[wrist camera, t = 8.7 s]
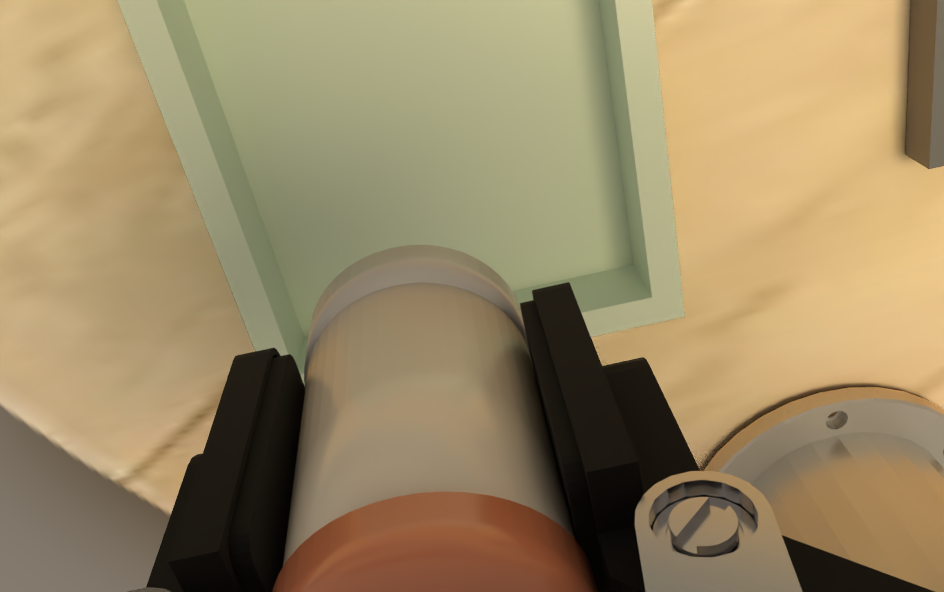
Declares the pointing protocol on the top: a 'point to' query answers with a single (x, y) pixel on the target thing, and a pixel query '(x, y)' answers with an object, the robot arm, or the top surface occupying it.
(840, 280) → the top surface
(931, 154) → the fuse block
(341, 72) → the tray
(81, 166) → the top surface
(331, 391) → the fuse marked
